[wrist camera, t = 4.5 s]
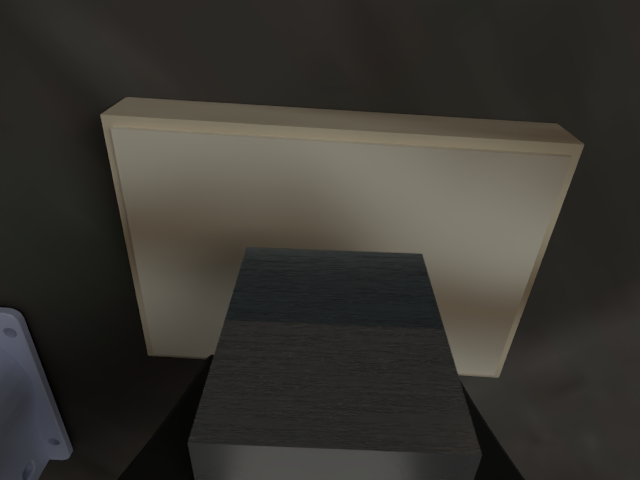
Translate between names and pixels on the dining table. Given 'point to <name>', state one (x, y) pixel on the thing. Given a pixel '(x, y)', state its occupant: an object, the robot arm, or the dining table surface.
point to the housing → (333, 374)
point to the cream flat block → (333, 208)
